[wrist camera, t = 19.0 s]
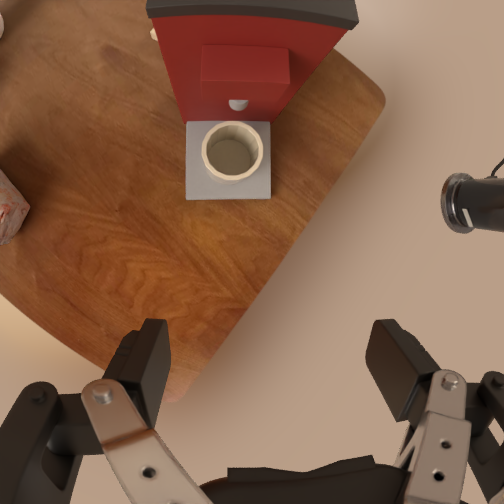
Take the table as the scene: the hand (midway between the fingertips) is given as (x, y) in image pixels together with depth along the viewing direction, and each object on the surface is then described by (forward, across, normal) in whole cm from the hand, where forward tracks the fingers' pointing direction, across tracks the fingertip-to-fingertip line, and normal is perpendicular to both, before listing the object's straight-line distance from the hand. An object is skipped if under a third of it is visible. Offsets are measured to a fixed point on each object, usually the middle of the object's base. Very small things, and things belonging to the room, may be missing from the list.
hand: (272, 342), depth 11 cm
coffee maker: (+33, +3, -8) cm, 34 cm away
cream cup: (+31, +3, -6) cm, 31 cm away
